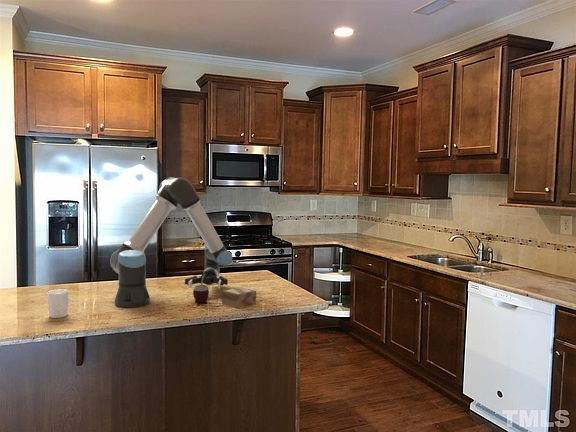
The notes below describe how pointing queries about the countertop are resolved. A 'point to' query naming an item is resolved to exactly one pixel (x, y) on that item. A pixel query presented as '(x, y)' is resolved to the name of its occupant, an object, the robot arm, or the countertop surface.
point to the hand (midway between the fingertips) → (204, 285)
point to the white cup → (58, 303)
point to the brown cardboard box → (238, 297)
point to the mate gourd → (201, 293)
